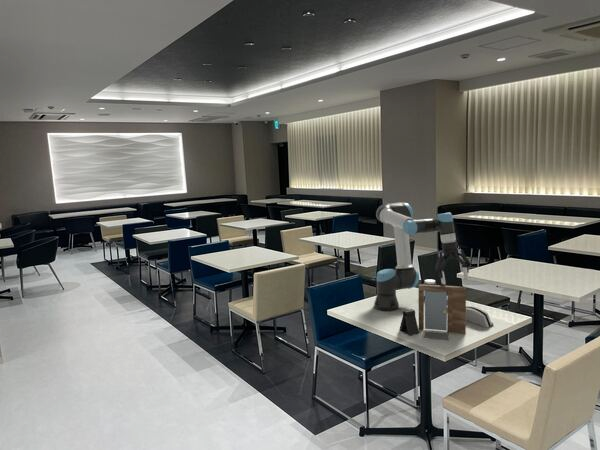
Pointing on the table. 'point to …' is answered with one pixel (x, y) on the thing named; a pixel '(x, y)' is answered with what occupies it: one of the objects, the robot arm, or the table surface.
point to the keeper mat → (436, 335)
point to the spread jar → (429, 283)
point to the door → (436, 310)
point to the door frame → (454, 307)
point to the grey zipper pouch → (478, 316)
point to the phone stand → (409, 323)
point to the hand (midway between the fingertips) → (455, 281)
